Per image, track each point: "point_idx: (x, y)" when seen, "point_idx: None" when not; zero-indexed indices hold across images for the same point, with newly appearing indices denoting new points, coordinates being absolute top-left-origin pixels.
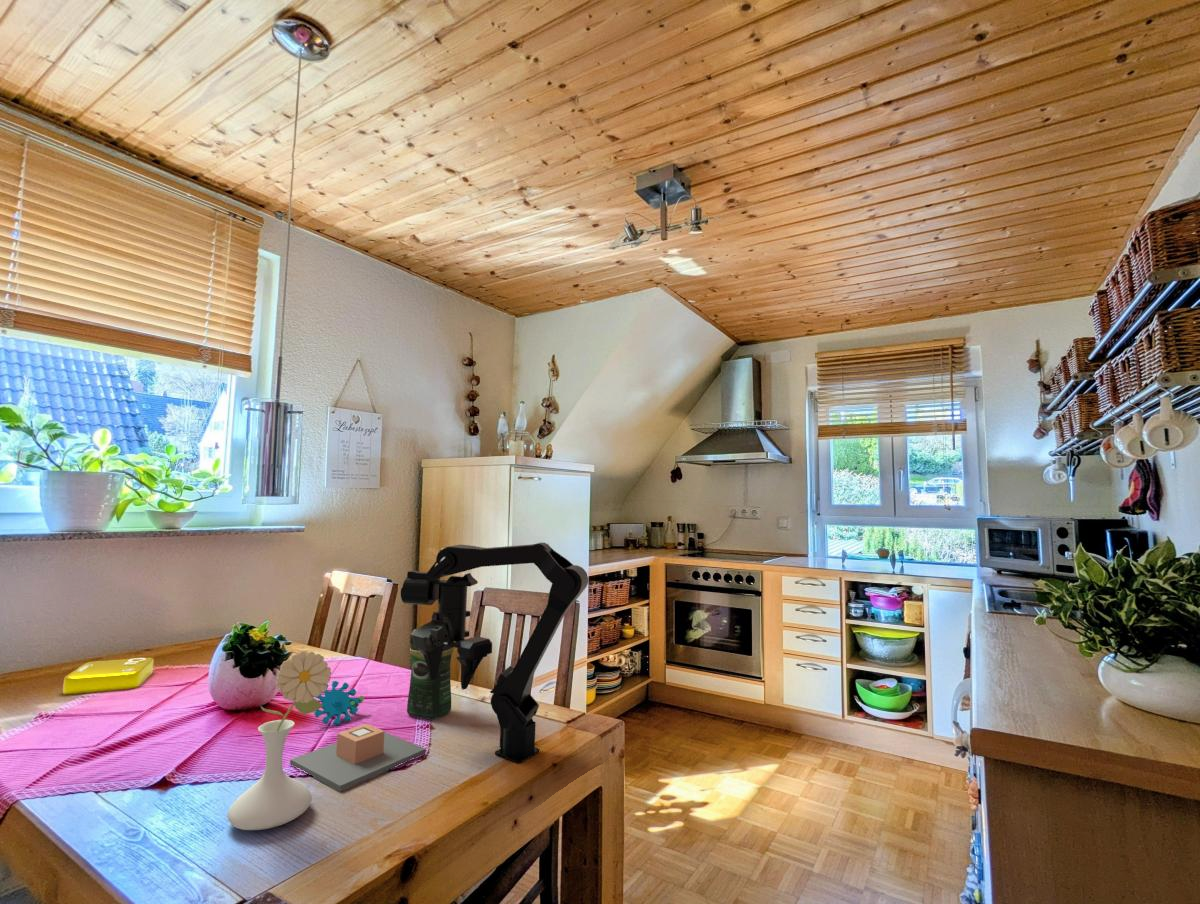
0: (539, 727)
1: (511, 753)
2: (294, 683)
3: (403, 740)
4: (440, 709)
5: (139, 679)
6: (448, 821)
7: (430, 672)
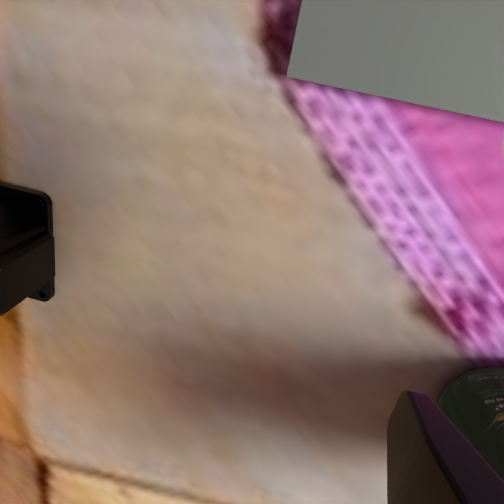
0: (82, 418)
1: None
2: None
3: (456, 104)
4: (449, 415)
5: None
6: None
7: (444, 449)
